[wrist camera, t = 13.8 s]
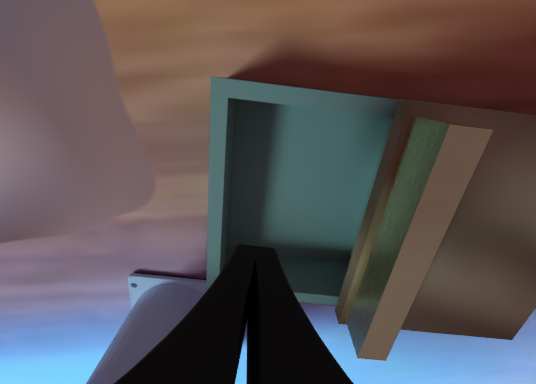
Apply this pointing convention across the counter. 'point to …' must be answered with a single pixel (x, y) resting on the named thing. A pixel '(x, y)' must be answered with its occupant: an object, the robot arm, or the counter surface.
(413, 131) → the lid
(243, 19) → the counter surface
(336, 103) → the teal shallow tray
